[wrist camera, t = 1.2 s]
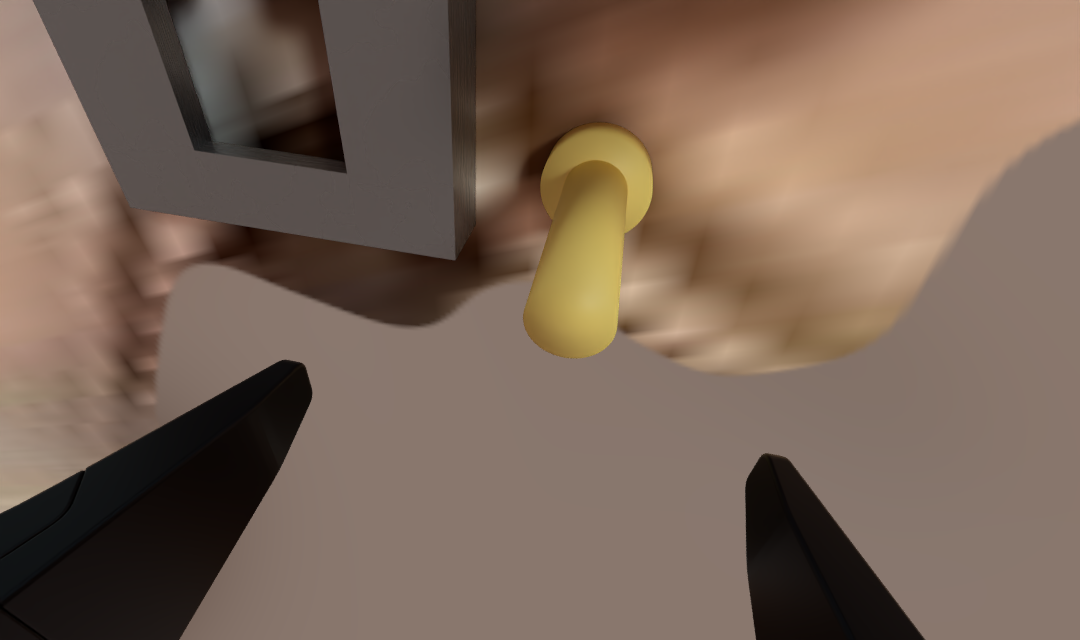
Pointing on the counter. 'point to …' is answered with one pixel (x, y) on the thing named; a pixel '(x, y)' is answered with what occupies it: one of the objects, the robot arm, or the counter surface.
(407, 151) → the keyhole plate
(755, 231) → the counter surface
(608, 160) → the headed peg
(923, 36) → the counter surface
